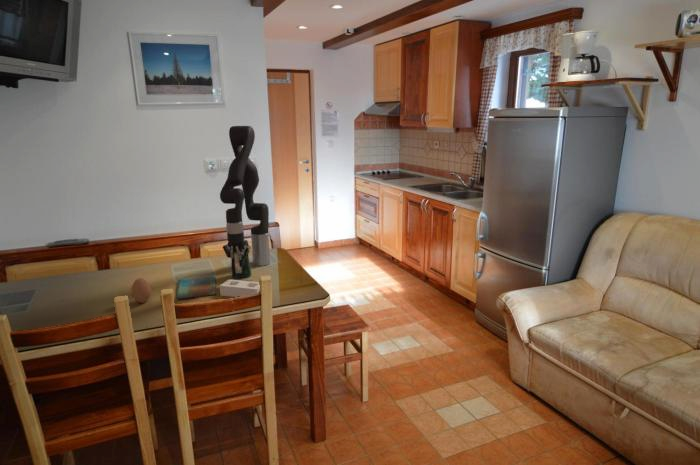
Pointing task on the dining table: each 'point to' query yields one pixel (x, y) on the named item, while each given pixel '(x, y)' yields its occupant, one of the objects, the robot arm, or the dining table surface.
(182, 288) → the book
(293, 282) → the dining table surface
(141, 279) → the egg
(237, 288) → the block
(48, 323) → the dining table surface
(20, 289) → the dining table surface
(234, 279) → the mat
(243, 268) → the coffee jar
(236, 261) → the peg
